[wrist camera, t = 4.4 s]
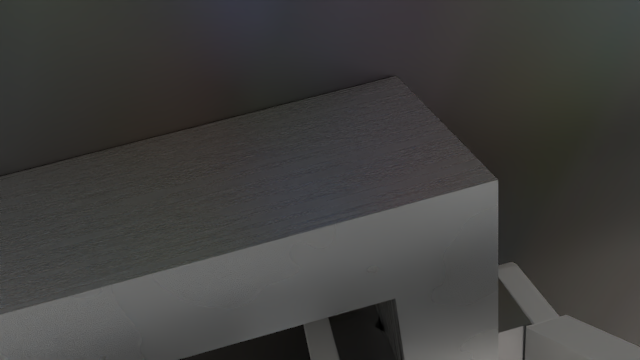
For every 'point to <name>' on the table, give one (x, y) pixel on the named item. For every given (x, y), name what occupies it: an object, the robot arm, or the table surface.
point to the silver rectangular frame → (256, 235)
